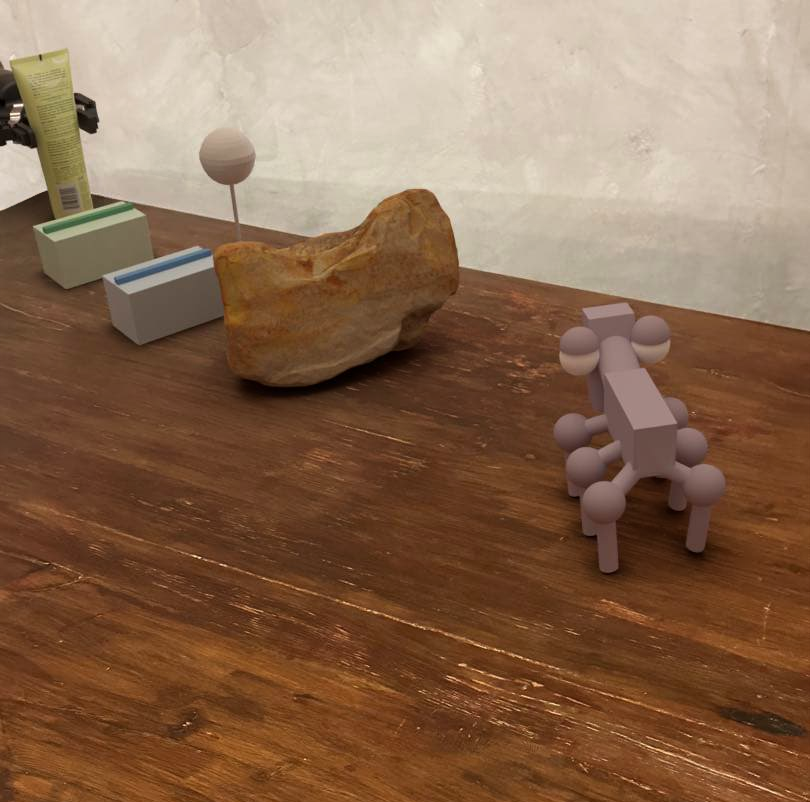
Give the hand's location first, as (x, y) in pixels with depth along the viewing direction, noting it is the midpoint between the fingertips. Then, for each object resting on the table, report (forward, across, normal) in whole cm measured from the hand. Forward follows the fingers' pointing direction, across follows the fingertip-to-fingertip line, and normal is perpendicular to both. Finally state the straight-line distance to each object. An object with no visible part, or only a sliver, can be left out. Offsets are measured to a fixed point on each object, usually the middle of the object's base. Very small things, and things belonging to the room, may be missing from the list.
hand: (63, 132), depth 134 cm
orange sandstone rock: (+49, +4, +11) cm, 50 cm away
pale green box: (+15, -5, +11) cm, 19 cm away
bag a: (+33, -5, +11) cm, 35 cm away
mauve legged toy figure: (+85, +7, +11) cm, 86 cm away
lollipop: (+25, +8, +11) cm, 29 cm away
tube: (-2, 0, +11) cm, 11 cm away
